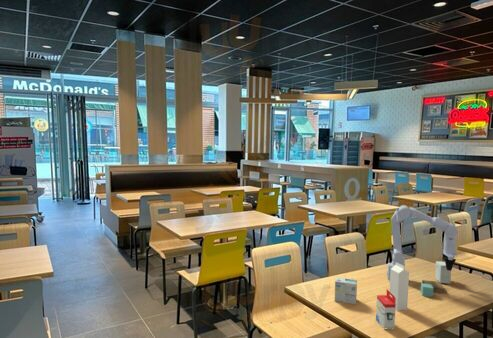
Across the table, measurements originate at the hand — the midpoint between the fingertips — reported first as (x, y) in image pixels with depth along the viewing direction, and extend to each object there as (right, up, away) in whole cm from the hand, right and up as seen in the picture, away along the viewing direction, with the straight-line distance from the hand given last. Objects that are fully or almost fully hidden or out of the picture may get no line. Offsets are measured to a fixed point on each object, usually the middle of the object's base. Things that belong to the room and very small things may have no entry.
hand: (448, 268), depth 191 cm
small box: (+1, -10, +7) cm, 12 cm away
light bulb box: (-64, -11, -17) cm, 67 cm away
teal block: (-18, -11, -10) cm, 23 cm away
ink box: (-53, -13, -40) cm, 68 cm away
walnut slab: (-11, -11, -3) cm, 15 cm away
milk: (-40, -12, -24) cm, 48 cm away
